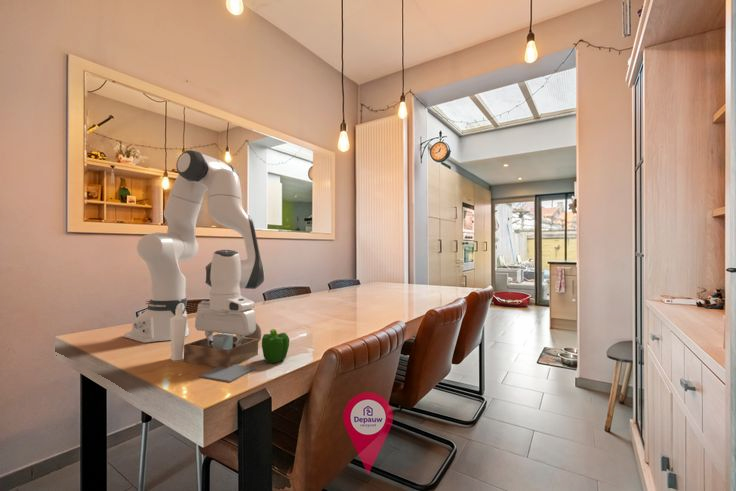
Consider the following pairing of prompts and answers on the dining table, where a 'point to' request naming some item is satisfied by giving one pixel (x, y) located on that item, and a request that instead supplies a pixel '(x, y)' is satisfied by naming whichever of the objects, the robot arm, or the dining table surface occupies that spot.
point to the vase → (255, 333)
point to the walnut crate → (220, 353)
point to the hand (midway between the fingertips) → (224, 346)
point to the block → (223, 341)
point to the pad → (227, 373)
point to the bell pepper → (275, 346)
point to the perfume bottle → (178, 335)
